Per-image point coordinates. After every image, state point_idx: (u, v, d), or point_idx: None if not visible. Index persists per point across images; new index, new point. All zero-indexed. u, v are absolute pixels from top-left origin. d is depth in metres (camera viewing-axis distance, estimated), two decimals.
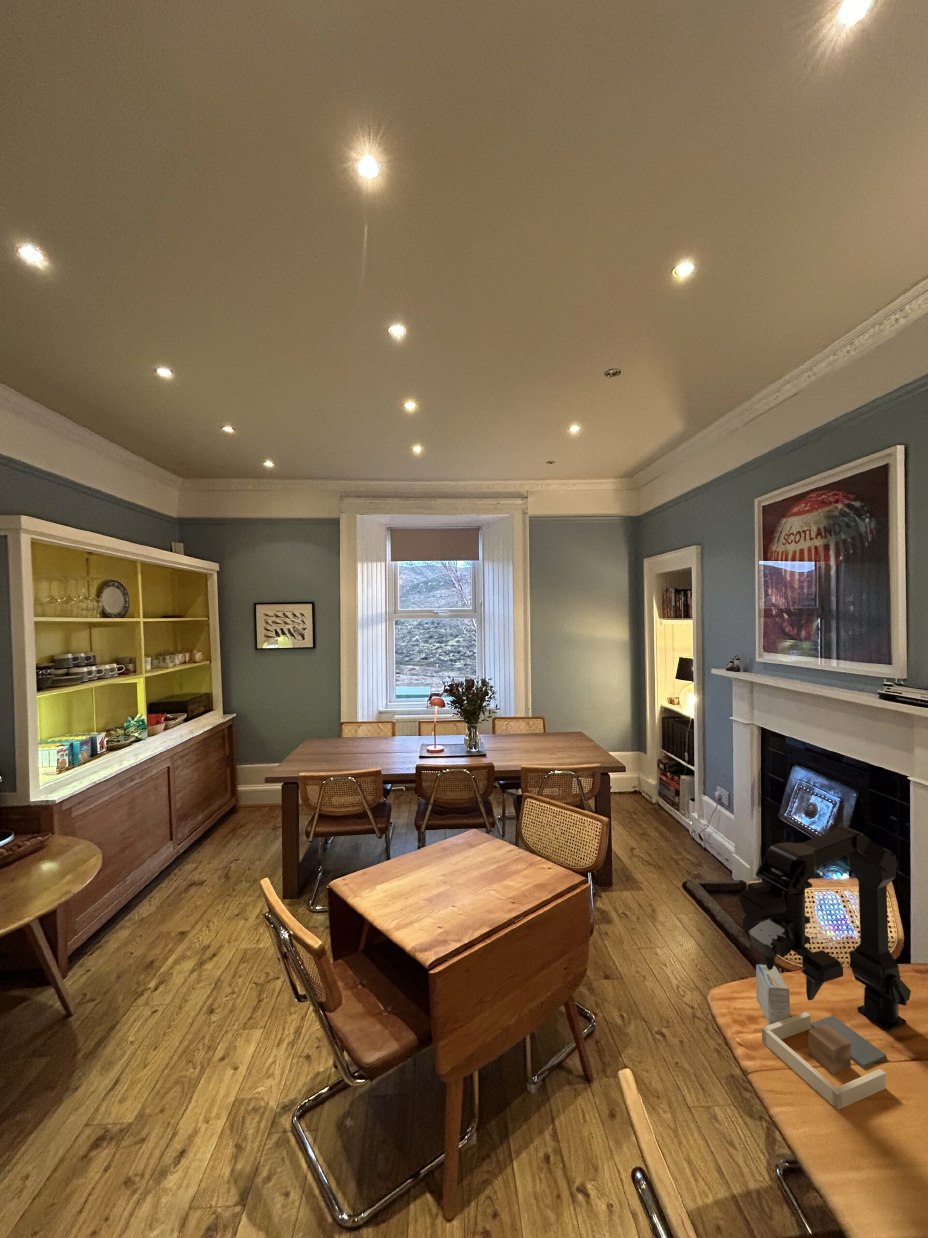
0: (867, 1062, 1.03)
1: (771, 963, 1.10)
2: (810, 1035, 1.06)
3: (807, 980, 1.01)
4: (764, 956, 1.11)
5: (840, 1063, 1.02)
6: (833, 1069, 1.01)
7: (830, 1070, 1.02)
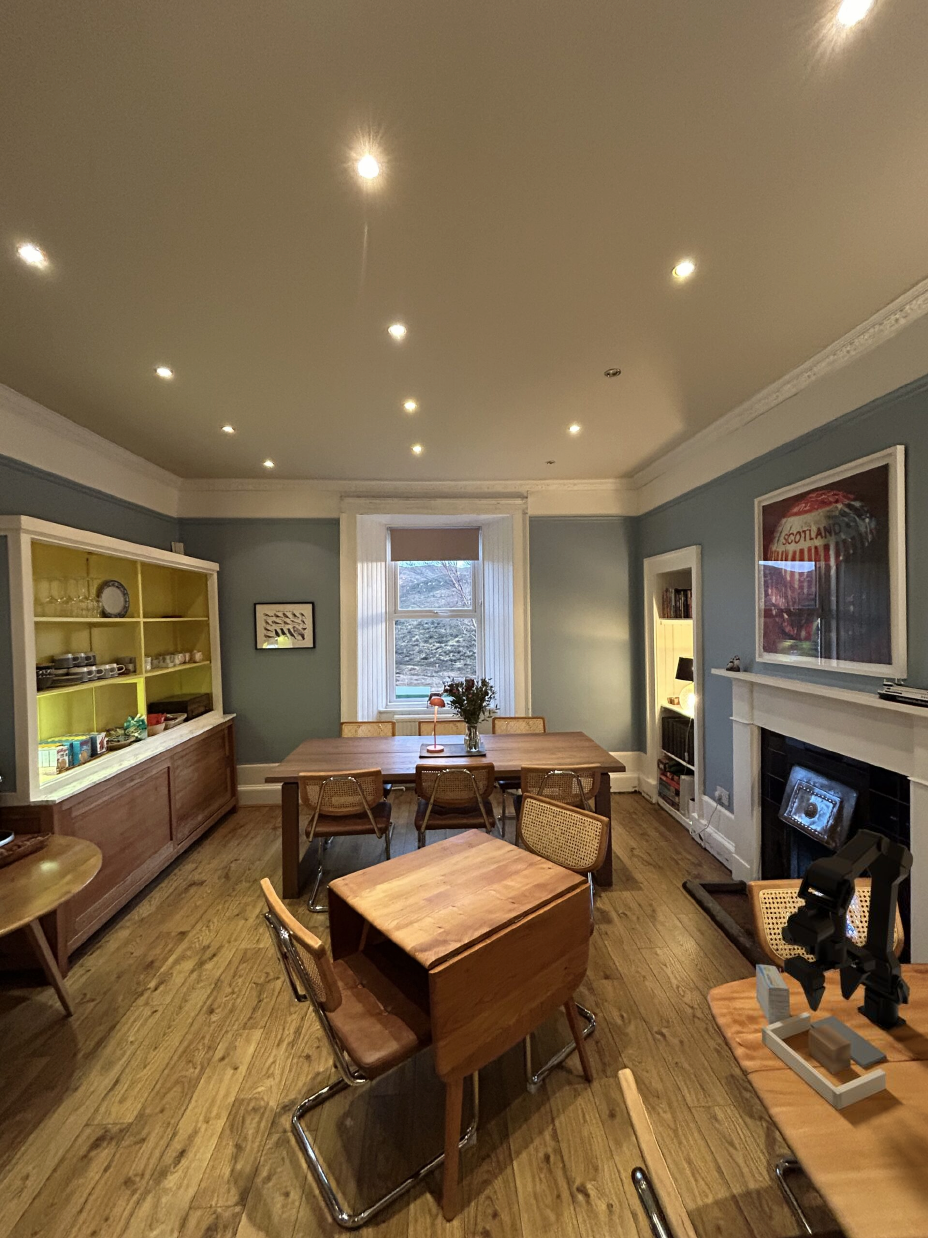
0: (867, 1062, 1.03)
1: (845, 993, 1.06)
2: (810, 1035, 1.06)
3: None
4: None
5: (840, 1063, 1.02)
6: (833, 1069, 1.01)
7: (830, 1070, 1.02)
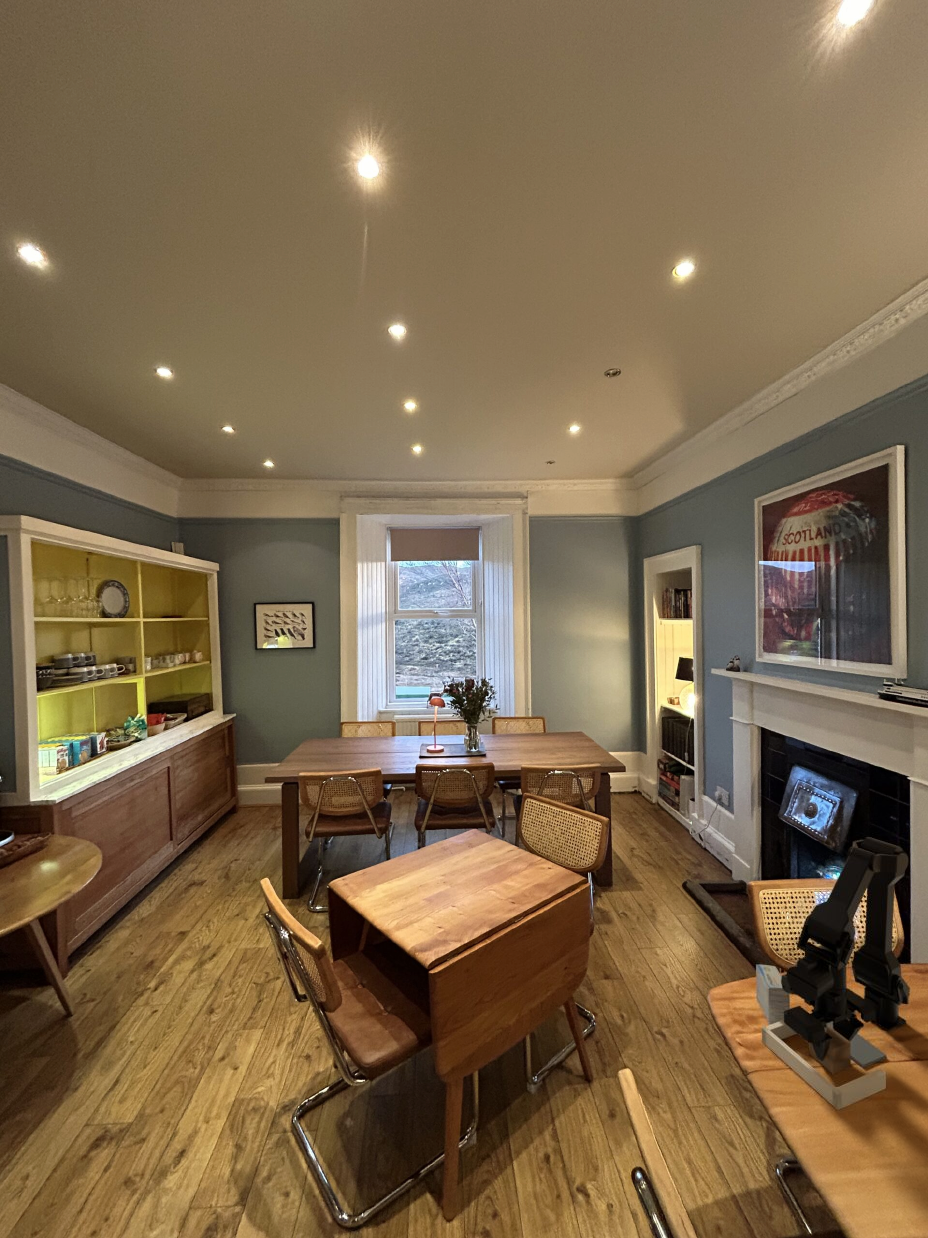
0: (867, 1062, 1.03)
1: None
2: None
3: None
4: None
5: (840, 1062, 1.02)
6: (833, 1069, 1.01)
7: (830, 1070, 1.02)
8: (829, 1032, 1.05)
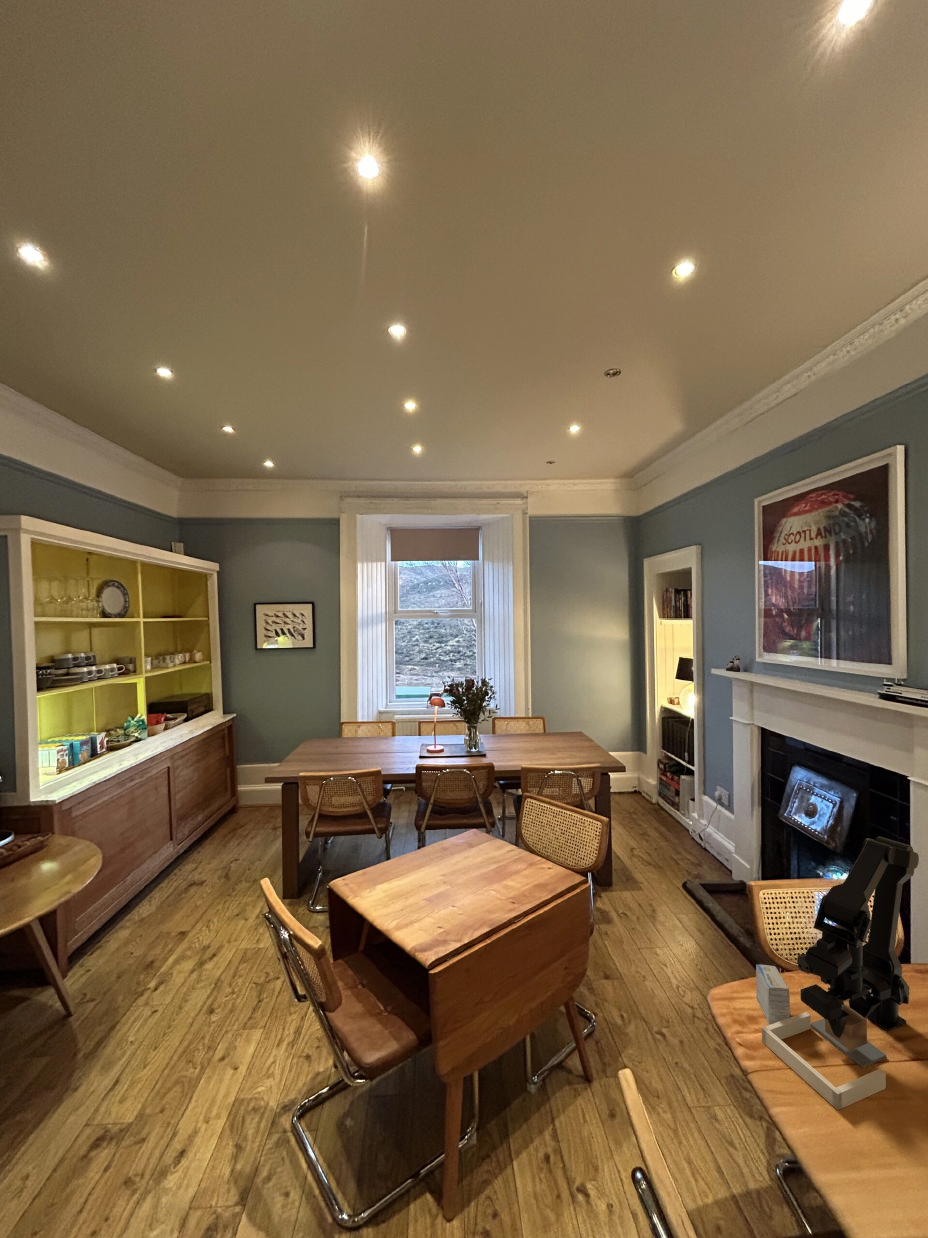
0: (867, 1062, 1.03)
1: None
2: None
3: None
4: None
5: (857, 1039, 1.04)
6: (850, 1045, 1.03)
7: (847, 1046, 1.03)
8: (845, 1010, 1.07)
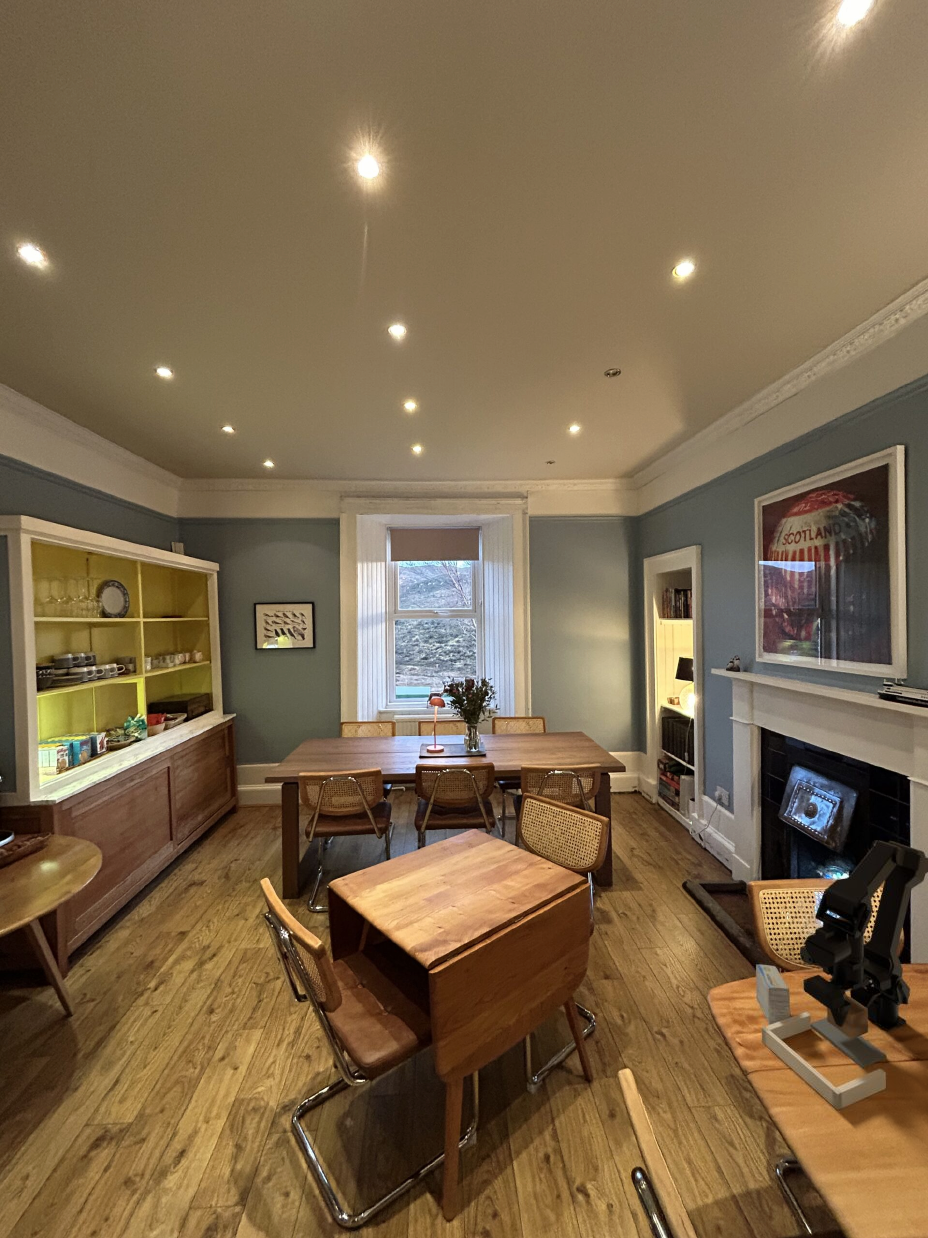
0: (867, 1062, 1.03)
1: None
2: None
3: None
4: None
5: (858, 1028, 1.06)
6: (851, 1034, 1.06)
7: (849, 1035, 1.06)
8: (847, 1000, 1.10)
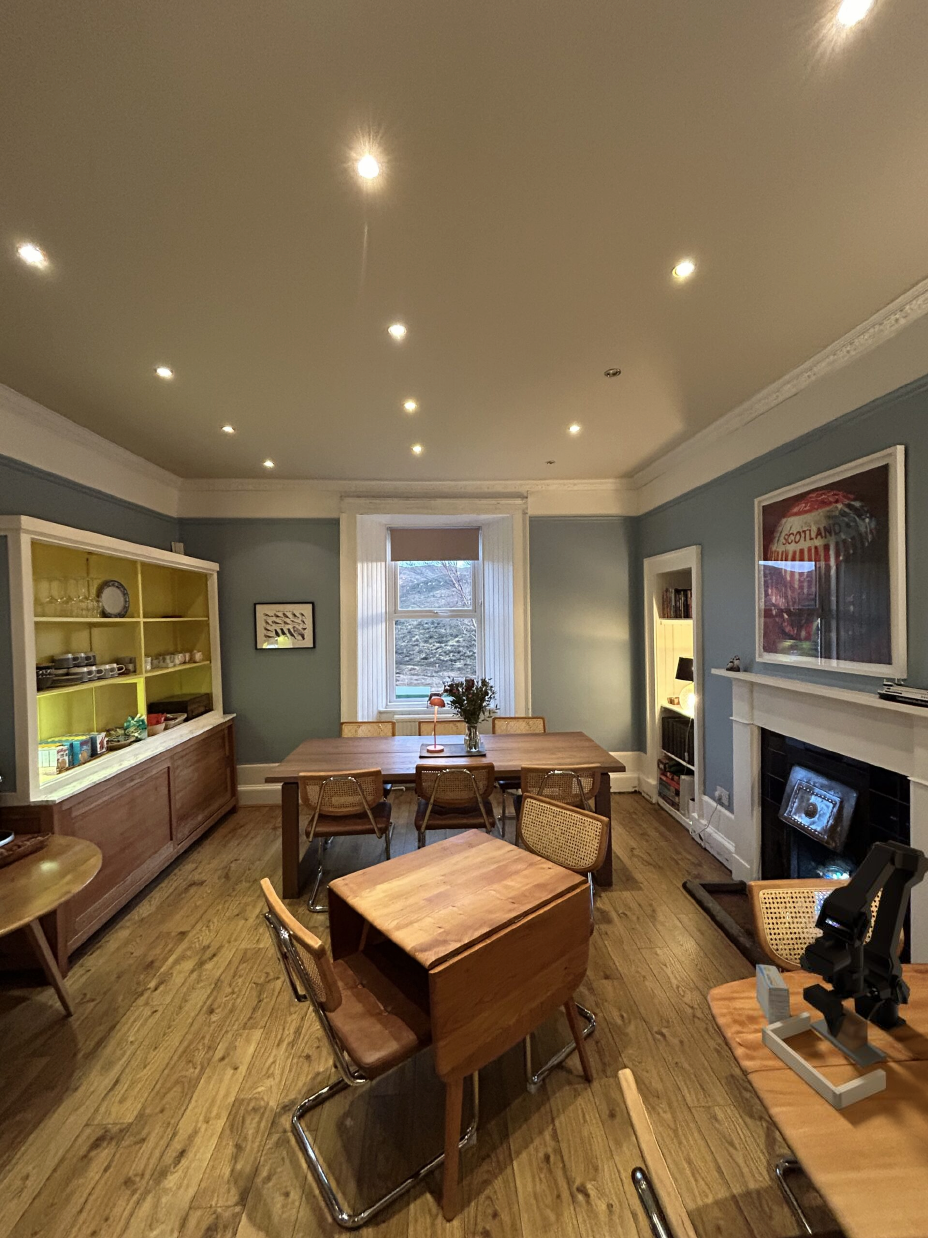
0: (867, 1062, 1.03)
1: None
2: None
3: None
4: None
5: (858, 1040, 1.06)
6: (851, 1046, 1.06)
7: (849, 1047, 1.06)
8: (846, 1012, 1.10)
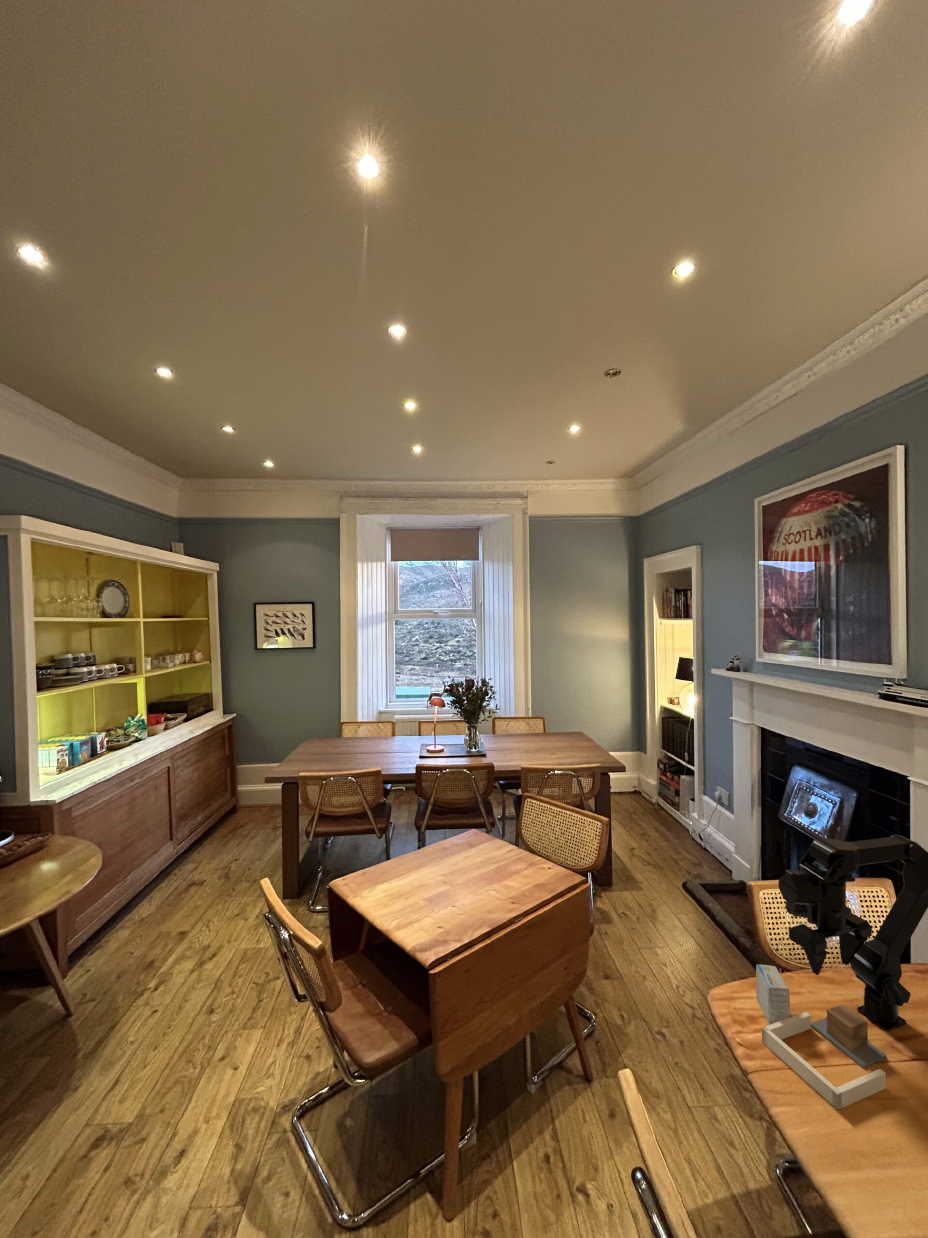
0: (867, 1062, 1.03)
1: (845, 958, 1.15)
2: (828, 1014, 1.10)
3: None
4: None
5: (858, 1040, 1.06)
6: (851, 1046, 1.06)
7: (849, 1047, 1.06)
8: (846, 1012, 1.10)
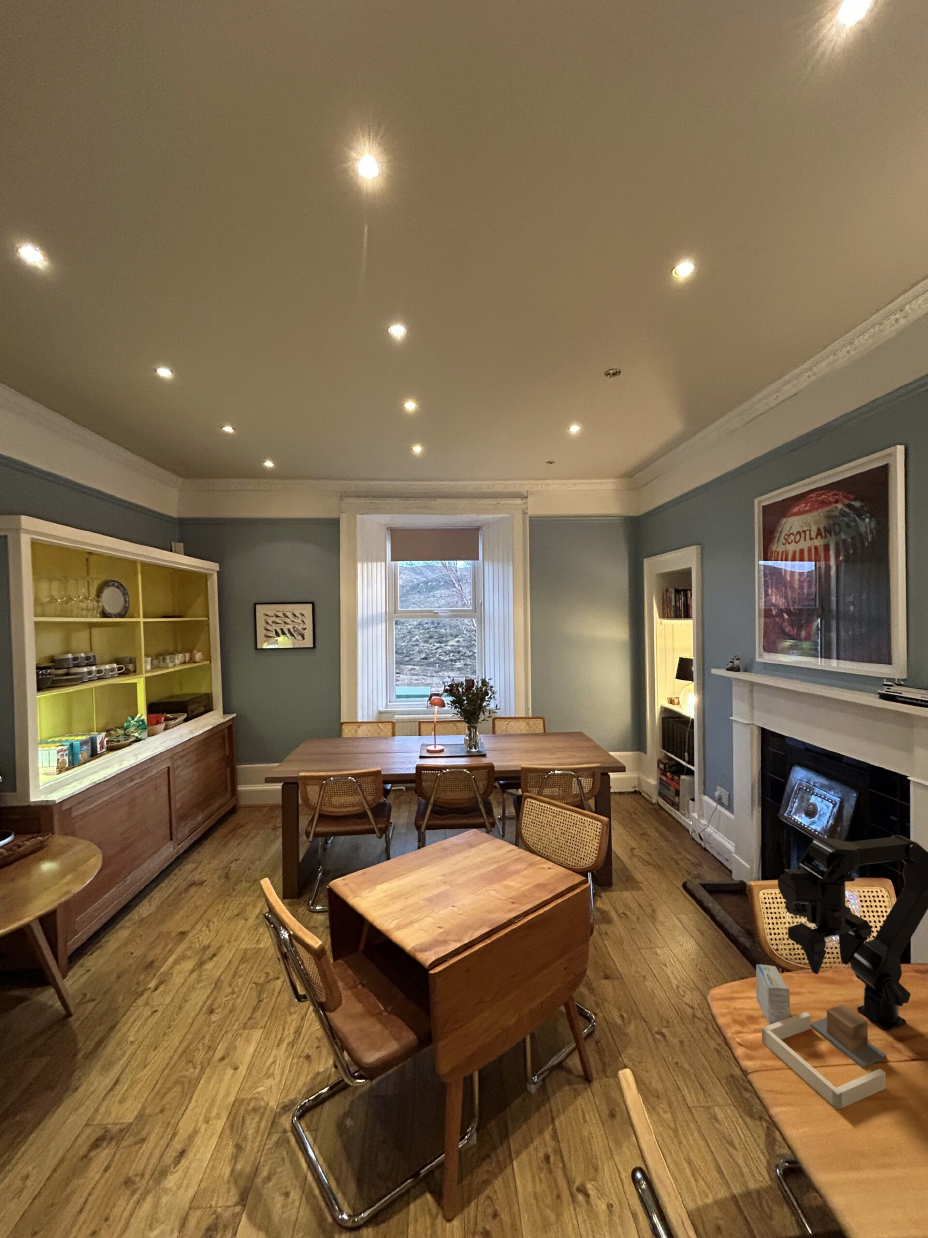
0: (867, 1062, 1.03)
1: (844, 958, 1.15)
2: (828, 1014, 1.10)
3: None
4: None
5: (858, 1040, 1.06)
6: (851, 1046, 1.06)
7: (849, 1047, 1.06)
8: (846, 1012, 1.10)
